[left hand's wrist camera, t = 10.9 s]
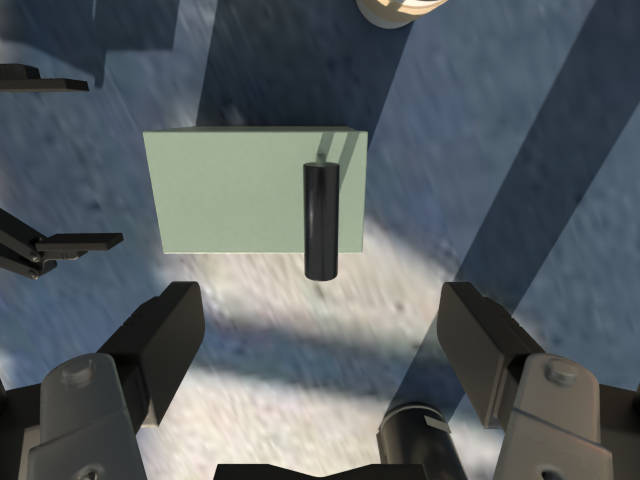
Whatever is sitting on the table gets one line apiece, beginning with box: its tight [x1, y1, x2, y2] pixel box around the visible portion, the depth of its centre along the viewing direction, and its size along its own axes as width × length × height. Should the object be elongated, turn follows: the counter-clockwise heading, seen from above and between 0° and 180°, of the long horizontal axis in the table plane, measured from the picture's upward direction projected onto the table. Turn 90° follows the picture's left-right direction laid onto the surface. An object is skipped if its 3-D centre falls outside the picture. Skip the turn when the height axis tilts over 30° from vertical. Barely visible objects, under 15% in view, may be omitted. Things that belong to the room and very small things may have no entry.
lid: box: [143, 131, 368, 281], centre depth 23 cm, size 16×10×9 cm, turn 90°
